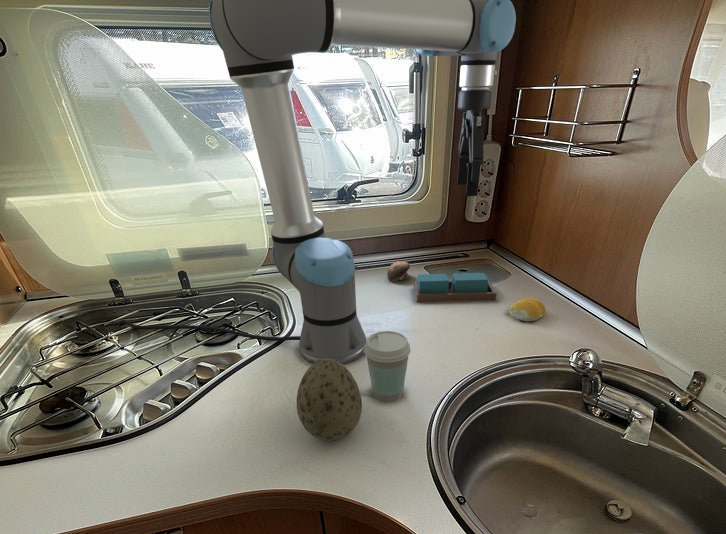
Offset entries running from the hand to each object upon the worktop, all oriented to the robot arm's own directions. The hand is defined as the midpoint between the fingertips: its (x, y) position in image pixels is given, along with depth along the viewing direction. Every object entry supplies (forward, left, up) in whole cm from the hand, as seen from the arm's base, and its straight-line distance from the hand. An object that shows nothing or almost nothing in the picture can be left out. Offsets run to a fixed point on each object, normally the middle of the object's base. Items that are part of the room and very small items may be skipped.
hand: (466, 189), depth 108 cm
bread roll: (+15, -19, -27) cm, 36 cm away
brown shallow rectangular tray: (-2, -6, -27) cm, 27 cm away
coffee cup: (-22, -51, -27) cm, 61 cm away
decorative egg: (-32, -62, -27) cm, 75 cm away
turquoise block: (-8, -6, -26) cm, 28 cm away
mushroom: (-17, +6, -27) cm, 32 cm away
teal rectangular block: (+2, -6, -26) cm, 27 cm away
